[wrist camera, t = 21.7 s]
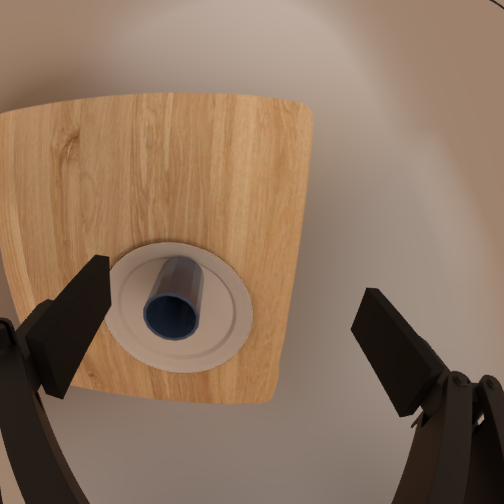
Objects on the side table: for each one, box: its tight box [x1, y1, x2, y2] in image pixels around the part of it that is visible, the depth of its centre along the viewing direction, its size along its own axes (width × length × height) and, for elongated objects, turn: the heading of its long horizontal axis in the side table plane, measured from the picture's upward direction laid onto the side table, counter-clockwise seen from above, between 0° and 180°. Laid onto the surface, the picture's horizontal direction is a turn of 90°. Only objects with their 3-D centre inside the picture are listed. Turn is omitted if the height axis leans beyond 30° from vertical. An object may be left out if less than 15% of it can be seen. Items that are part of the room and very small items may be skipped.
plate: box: [105, 242, 253, 373], centre depth 47 cm, size 26×26×2 cm
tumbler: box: [143, 256, 204, 341], centre depth 38 cm, size 7×7×11 cm
